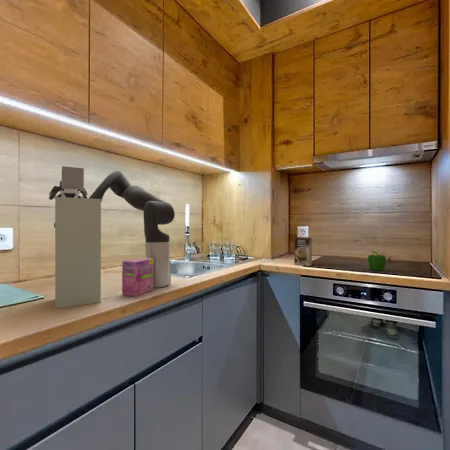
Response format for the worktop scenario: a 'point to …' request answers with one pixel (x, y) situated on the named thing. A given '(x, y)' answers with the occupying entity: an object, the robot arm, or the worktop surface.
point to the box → (137, 276)
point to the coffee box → (303, 251)
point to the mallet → (72, 179)
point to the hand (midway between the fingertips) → (70, 182)
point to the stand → (77, 251)
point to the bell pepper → (376, 261)
